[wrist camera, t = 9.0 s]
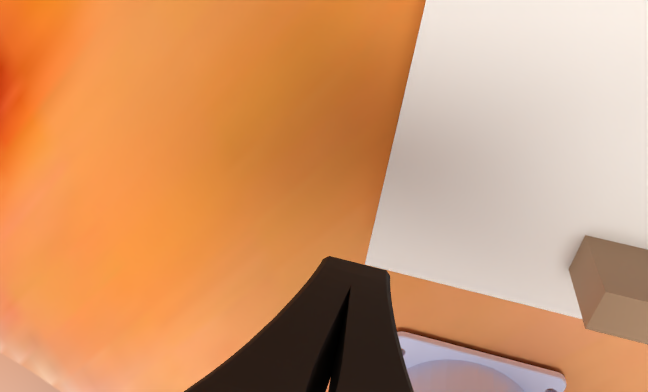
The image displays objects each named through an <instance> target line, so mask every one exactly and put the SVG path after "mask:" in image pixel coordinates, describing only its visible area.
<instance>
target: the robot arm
mask: <svg viewBox="0 0 648 392" xmlns="http://www.w3.org/2000/svg"><path fill="white" fill-rule="evenodd" d="M401 348H402V349H404V350H401ZM330 378H331V379H330ZM329 380H330V386H329V392H564V390H565V388H566V385H567V384H566V379H565V377H564V375H562V374H561V373H559V372H556V371H552V370H548V369H544V368H540V367H537V366H533V365H529V364H525V363H521V362H518V361H514V360H510V359H506V358H503V357H499V356H495V355H491V354H487V353H484V352H480V351H476V350H472V349H468V348H465V347H461V346H457V345H453V344H450V343H446V342H442V341H438V340H434V339H431V338H427V337H423V336H419V335H415V334H412V333H408V332H403V331H400V332H397V330H396V325H395V320H394V314H393V308H392V301H391V292H390V275H389V274H388V272H387V271H386V270H383V269H379V268H375V267H371V266H367V265H363V264H359V263H355V262H351V261H347V260H343V259H339V258H335V257H331V256H329V257H327V258H325V259H323V260H322V262H321V264H320V265H319V267H318V268H317V269H316V271H315V272H314V274H313V275H312V276H311V278H310V279H309V280H308V281H307V283H306V284H305V285H304V286H303V287H302V288H301V290H300V291H299V292H298V293H297V294H296V295H295V297H294V298H293V299H292V300H291V301H290V302H289V303H288V304H287V305H286V306H285V307H284V308H283V309H282V310H281V311H280V313H279V314H278V315H277V316H276V317H275V318H274V319H273V320H272V321H271V322H269V323H268V324H267V325H266V326H265V327H264V328H263V329H262V330H261V331H260V332H259V333H258V334H257V335H255V336H254V337H253V338H252V339H251V340H250V341H249V342H248V343H247V344H246V345H244V346H243V347H242V348H241V349H240V350H239V351H237V352H236V353H235V354H234V355H233V356H231V357H230V358H229V359H228V360H226V361H225V362H224V363H223V364H221V365H220V366H219V367H217V368H216V369H215V370H214V371H212V372H211V373H210V374H208V375H207V376H205V377H204V378H203V379H201V380H200V381H198V382H197V383H195V384H194V385H193V386H191V387H190V388H188V389H187V390H186V391H184V392H325V391H326V389H327V386H328V383H329ZM547 389H552V390H547Z"/></svg>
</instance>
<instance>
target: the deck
mask: <svg viewBox="0 0 648 392" xmlns="http://www.w3.org/2000/svg"><path fill="white" fill-rule="evenodd" d="M365 265H369V266H373V267H377V268H381V269H385V270H389V271H393V272H397V273H401V274H405V275H409V276H413V277H417V278H421V279H425V280H429V281H433V282H437V283H441V284H445V285H449V286H453V287H457V288H461V289H465V290H469V291H473V292H476V293H480V294H484V295H488V296H492V297H496V298H500V299H504V300H508V301H512V302H516V303H520V304H524V305H528V306H532V307H536V308H540V309H544V310H548V311H552V312H556V313H560V314H564V315H568V316H572V317H576V318H580V319H583V322H584V326H585V329H589V330H593V331H597V332H601V333H605V334H609V335H613V336H617V337H620V338H624V339H628V340H632V341H636V342H640V343H644V344H648V0H426V3H425V7H424V12H423V16H422V20H421V24H420V29H419V33H418V37H417V42H416V46H415V50H414V55H413V59H412V63H411V68H410V72H409V76H408V81H407V85H406V89H405V93H404V98H403V102H402V106H401V111H400V115H399V119H398V124H397V128H396V132H395V137H394V141H393V145H392V150H391V154H390V158H389V163H388V167H387V171H386V175H385V180H384V184H383V188H382V193H381V197H380V201H379V206H378V210H377V214H376V219H375V223H374V227H373V232H372V236H371V240H370V244H369V249H368V253H367V257H366V262H365Z"/></svg>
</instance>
